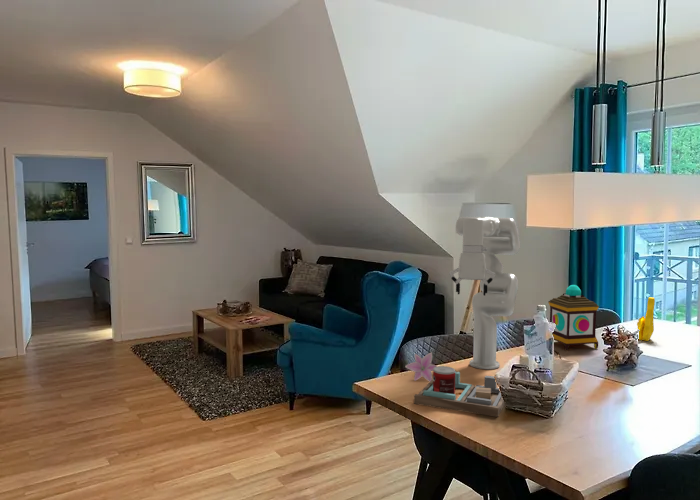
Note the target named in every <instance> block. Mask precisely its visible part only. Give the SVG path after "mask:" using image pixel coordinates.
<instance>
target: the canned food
mask: <svg viewBox="0 0 700 500" xmlns="http://www.w3.org/2000/svg"><path fill="white" fill-rule="evenodd" d="M455 372H456V369H455V368H453V367H450V366H444V365H439V366H438V365H437V367H435V368H433V371H432V380H433V391H435V392H442V393H449V394H456V387H455Z"/></svg>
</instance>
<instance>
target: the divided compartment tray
mask: <svg viewBox="0 0 700 500" xmlns="http://www.w3.org/2000/svg"><path fill="white" fill-rule="evenodd" d="M432 385H433V379H432V380H431V381H430V382H429V381H428V383H427V384H426V386H424V387H423V388H422V389H421V390H420V391H419V392H418V393H415V394H414V395H413V404H414V405H421V406H425V407H432V408H439V409H444V410H452V411H458V412H465V413H471V414H476V415H477V414H478V415H483V416H490V417H496V418H497V417H498V418H499V415H500V414H501V413H502V412H501V411H502V409H503V408H504V405H505V404H504V400H503V398H502V397H501V399H500V401H499V403H498V405H497V406H492V405H493V404H492V405H486V404H479V403H472V402H465V401H466V400H467V397H468V396H469V395H470V394H471V393H472V391H473V390H474V388H475V387H476V385H473V384H472V386H471V387H470V389H469V390H468V391H467V393H466V394H465V395H464V397H463V398H462V400H461V401H459V400H457V399H456V400H452V399H445V398H439V397H432V396H425V395H423V394H424V390H428V389H429V388H430V387H431V386H432Z"/></svg>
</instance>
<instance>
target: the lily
mask: <svg viewBox="0 0 700 500" xmlns="http://www.w3.org/2000/svg"><path fill="white" fill-rule="evenodd" d="M414 360H415V362H414V361H413V362H410V363H408V364H406V365H405V368H406V369H407V370H410V371H413V372H414V377H413V378H414V379H413V381H415V382H416V381H417V380H419V379H420V378H424V379H425V380H427V381H428V383H429V382H430V381H431V380H433V368H435V367H438V365H435V364H433V363H432V361H433V352H428V353H427V354H425V355H424V356H423V357H421V356H420V355H418V354H416V353H414Z"/></svg>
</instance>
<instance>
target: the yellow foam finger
mask: <svg viewBox="0 0 700 500" xmlns="http://www.w3.org/2000/svg"><path fill="white" fill-rule="evenodd" d="M655 300H656V299H655V297H650V296H649V297H648V298H647V303H646V304H647V305H646V306H647V307H646V313H645V316H644V315H643V316H641V317H640V318H639V319H638V321H637V322H636V326H637V330H638V329H639V330H640V331H639V341H645V342H649V341H650V340H651V338H652V335H653V333H654V329H655V328H654V311H655V303H656V301H655Z"/></svg>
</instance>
